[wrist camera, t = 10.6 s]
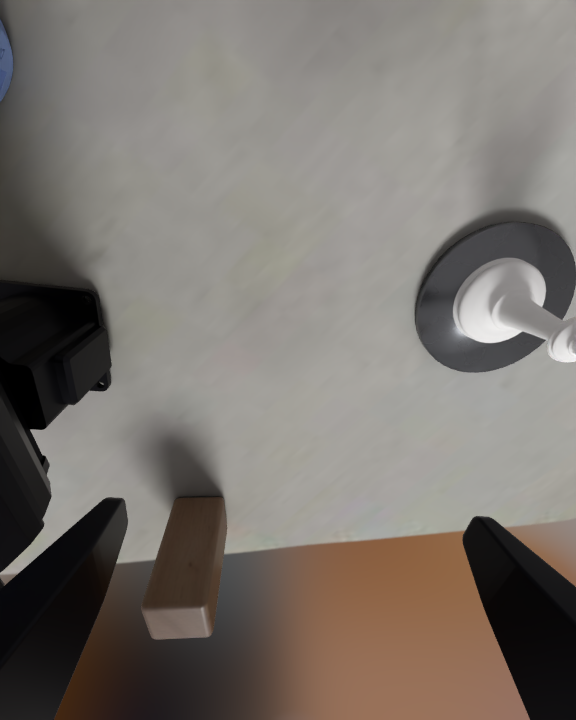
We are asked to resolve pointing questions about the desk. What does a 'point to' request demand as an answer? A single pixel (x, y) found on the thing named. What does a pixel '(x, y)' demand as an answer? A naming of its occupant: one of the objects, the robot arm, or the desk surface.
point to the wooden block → (187, 570)
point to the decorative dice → (5, 62)
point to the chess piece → (511, 308)
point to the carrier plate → (461, 262)
